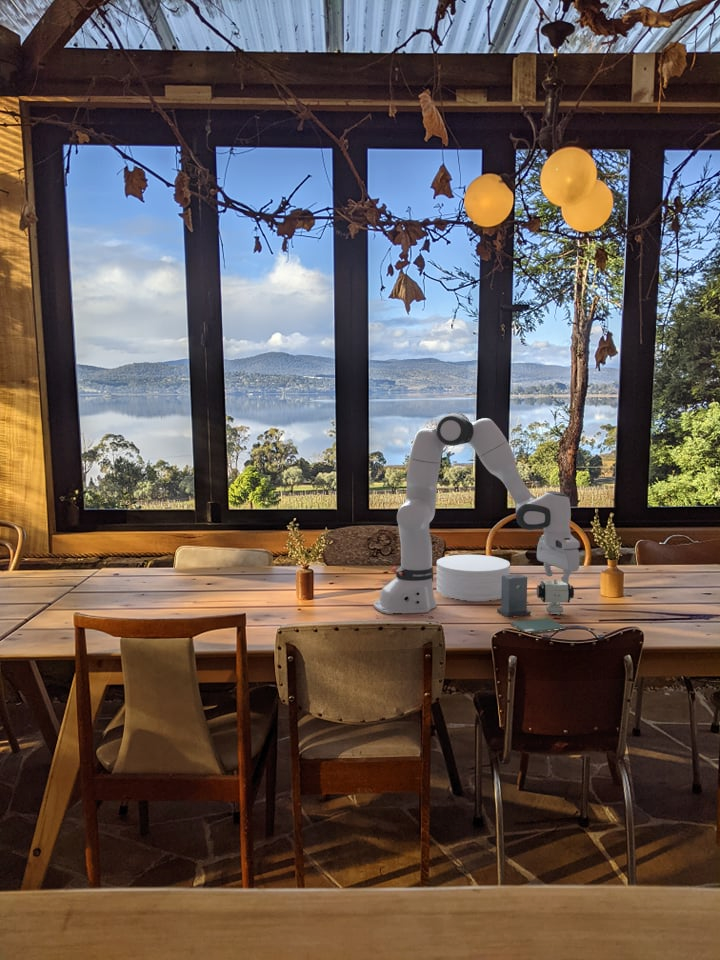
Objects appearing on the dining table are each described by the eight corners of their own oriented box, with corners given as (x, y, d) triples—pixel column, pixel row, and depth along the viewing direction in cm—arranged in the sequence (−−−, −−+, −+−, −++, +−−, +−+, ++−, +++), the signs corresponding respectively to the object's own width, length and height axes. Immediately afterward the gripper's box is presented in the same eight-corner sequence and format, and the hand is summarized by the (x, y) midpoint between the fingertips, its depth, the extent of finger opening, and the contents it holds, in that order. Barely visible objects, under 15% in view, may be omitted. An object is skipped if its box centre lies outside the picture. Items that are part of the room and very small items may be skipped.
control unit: (507, 618, 230) (507, 579, 228) (497, 612, 236) (497, 574, 235) (530, 615, 232) (531, 577, 231) (520, 609, 239) (520, 572, 237)
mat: (526, 634, 213) (526, 631, 213) (510, 624, 223) (510, 621, 223) (565, 629, 217) (565, 626, 217) (547, 620, 227) (547, 617, 227)
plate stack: (425, 595, 258) (425, 566, 256) (451, 579, 282) (451, 552, 281) (497, 605, 245) (498, 574, 243) (517, 587, 269) (518, 558, 268)
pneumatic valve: (536, 611, 236) (536, 577, 235) (570, 612, 236) (571, 578, 234) (539, 616, 231) (539, 582, 230) (574, 616, 230) (575, 582, 229)
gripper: (532, 534, 239) (532, 573, 241) (566, 545, 220) (566, 587, 221) (547, 533, 241) (547, 571, 243) (583, 543, 222) (582, 585, 223)
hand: (556, 579), depth 232 cm, fingers open, 8 cm apart
